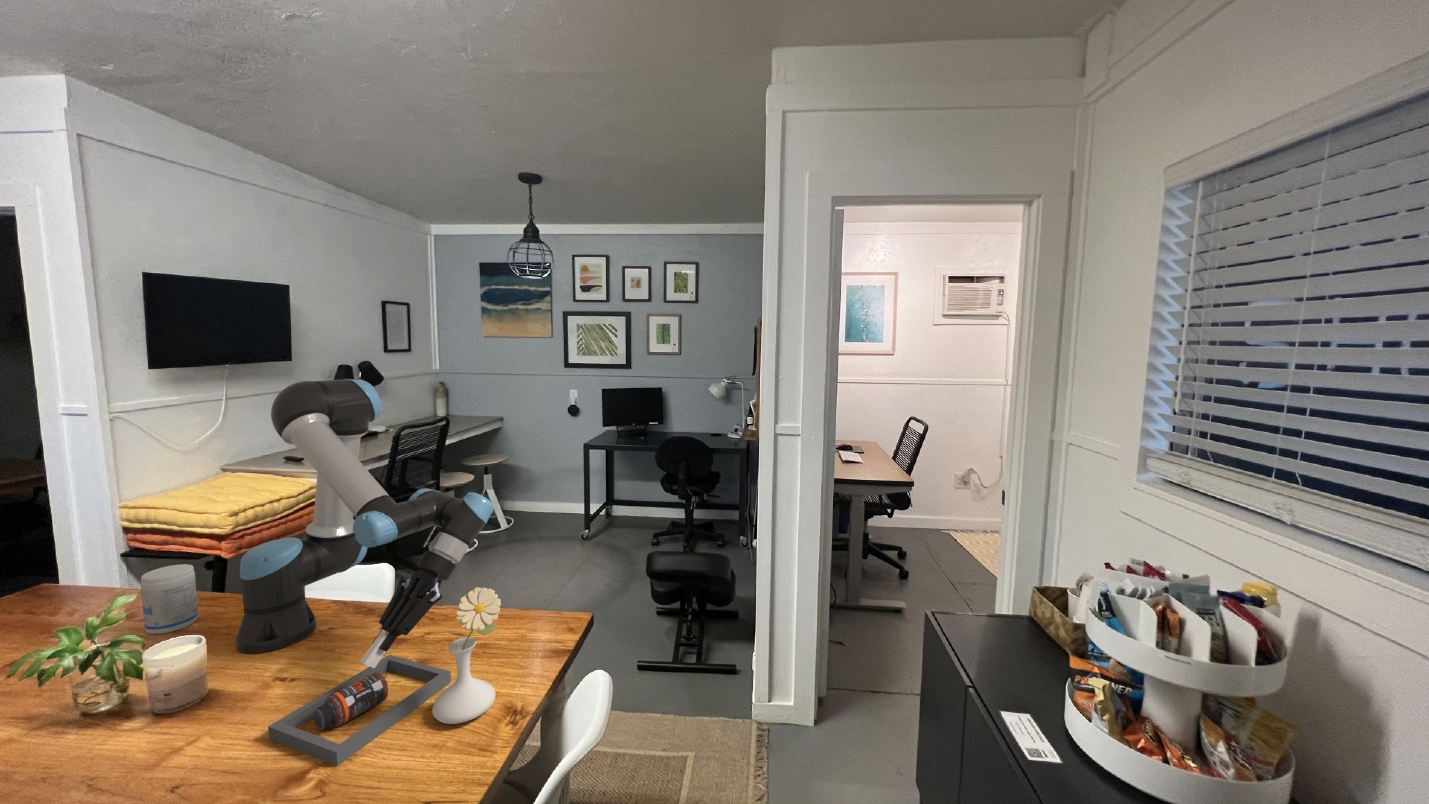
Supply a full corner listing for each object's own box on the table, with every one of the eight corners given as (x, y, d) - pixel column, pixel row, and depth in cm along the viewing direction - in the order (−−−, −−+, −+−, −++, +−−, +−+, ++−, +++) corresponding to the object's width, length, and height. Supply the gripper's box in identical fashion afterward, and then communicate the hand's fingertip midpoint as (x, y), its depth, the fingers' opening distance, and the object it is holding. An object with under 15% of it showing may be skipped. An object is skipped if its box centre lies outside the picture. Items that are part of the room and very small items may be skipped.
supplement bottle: (386, 671, 104) (323, 705, 94) (392, 701, 104) (329, 737, 94) (370, 670, 106) (307, 702, 96) (375, 698, 106) (313, 733, 96)
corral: (269, 739, 94) (268, 726, 94) (390, 665, 117) (389, 654, 116) (337, 766, 88) (336, 752, 88) (451, 682, 111) (450, 671, 111)
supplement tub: (136, 631, 130) (131, 575, 128) (185, 613, 139) (180, 561, 137) (158, 639, 127) (152, 581, 125) (207, 620, 135) (202, 566, 134)
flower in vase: (425, 735, 95) (419, 607, 93) (440, 696, 106) (435, 580, 104) (500, 722, 99) (496, 598, 97) (507, 685, 110) (504, 573, 107)
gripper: (471, 570, 116) (399, 680, 103) (436, 558, 122) (364, 661, 109) (448, 555, 111) (369, 669, 98) (413, 544, 117) (335, 649, 104)
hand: (367, 665), depth 103 cm, fingers closed
